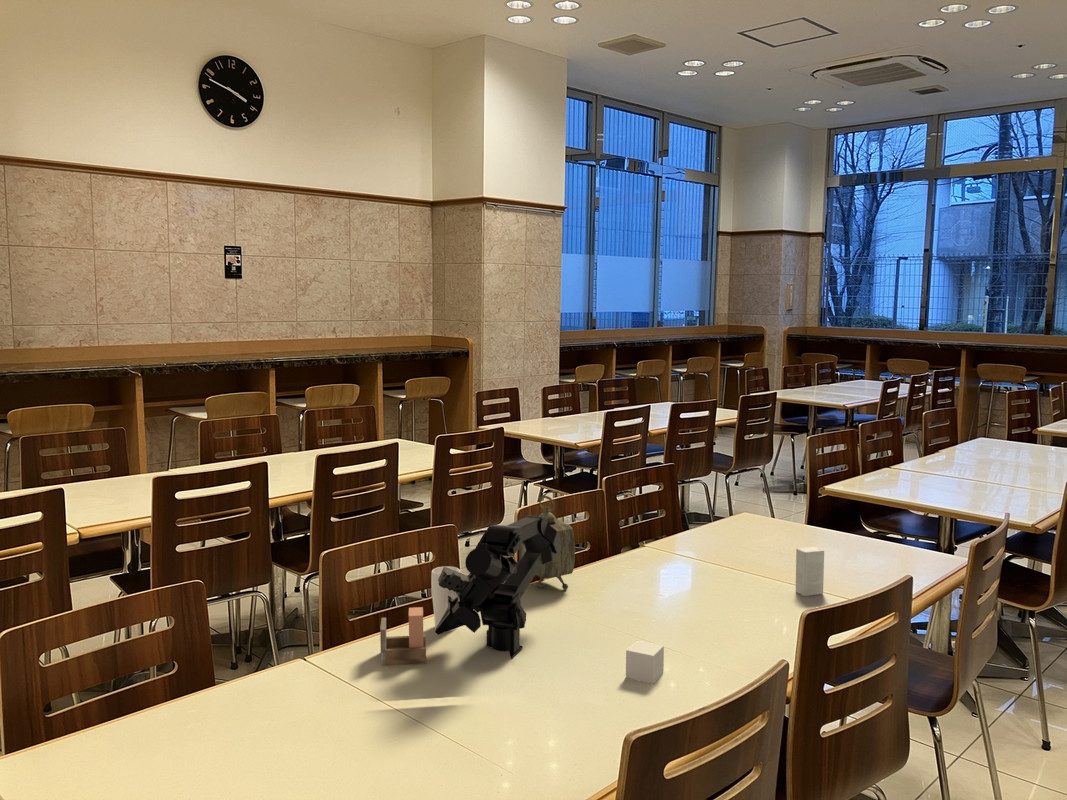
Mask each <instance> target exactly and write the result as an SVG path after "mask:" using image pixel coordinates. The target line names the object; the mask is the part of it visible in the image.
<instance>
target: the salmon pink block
mask: <svg viewBox="0 0 1067 800" xmlns="http://www.w3.org/2000/svg"><path fill="white" fill-rule="evenodd" d="M423 635H424V607H423V606H422V607H421V606H420V607H419V606H418V607H417V606H415V607H408V636H409V648H417V647H423Z"/></svg>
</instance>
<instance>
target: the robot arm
mask: <svg viewBox="0 0 1067 800" xmlns="http://www.w3.org/2000/svg"><path fill="white" fill-rule="evenodd" d="M521 543H523V545H524V547H525V553H524V555H523V556H522V557H521V559H520V558H519V560H518V562H517V561H516V560H515V558H513V555H515V554H516V553H518V551H519V549H520V548H521ZM560 550H561V540H560V537H559V535H558V532H557V531H556V530H555V529H554V528H552V527H551V526H550V525H549V524H548V523H547V521H546V519H545V518H543V517H540V516H539V515H529V514H527V515H524V517H523V518H521V519H518V520H517V521H514V522H512V523H510V524H507V525H503V524H490V525H489V526H488V527H487V529H486V530H485V531H484V533H483V534H482V536H481V538H480V540H479V541H478V543H477V545H476V546H475V548H474V549H472V550H471V551H470V552H468V554H467V556H466V558H465V563H464V564H465V567H466V570H467V572H469V574H468V575H466V574H464V573H462V572H461V571H460V572H457V571H455V570H452V569H450V568H447V567H444V566H443V567H444V568H443V570H442V572H441V574H440V576H439V579H438V581H439V586H440V587H442V588H447V589H448V590H449V591H451V590H452V591H454V592H455V594H454V595H453V596H452V597H450V596H448V608H447V610H446V611H445V613H444V615H443V617H442V619H441V620H440V622H439V624H438V625H437V627H436V629H435V628H434V633H435V634H436V635H438V636H439V635H441V634H444V633H448V632H447V631H450V630H452V629H455V628H457V629H458V628H461V627H464V626H465V627H467V628H468V629H469V630H470V631H471V632H472V633H474V634H475V633H476V632H477V631H478V630H479V629H480V628H481V625H482V626H488V629H487V630H486V646H487V647H488V648H490V649H493V651H494V650H495V651H497V652H509V657H510V659H513V658H514V657H515V656H516V655H517V654H519V652H520V651H522V649H523V647H524V646H523V645H521V643H520V641H521V640H520V639H521V638H520V637H521V635H520V633H521V632H520V631H521V629H525V626H526V621H527V612H526V611H525V609H524V608H523V606H522V604H521V598H522V597H523V595H524V593H525V592H526V590H527V589H528V587H529V585H530V584H531V582H533V579H534V578H535V576H536V573H537V572H538V570H539V568H540V567H541V565H543V564H546V563H548V562H551V561H552V560H553V559H554V558H555V557H556V556H557V554H558V553H559V552H560ZM481 623H482V624H481ZM450 632H451V631H450Z"/></svg>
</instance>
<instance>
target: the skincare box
mask: <svg viewBox="0 0 1067 800" xmlns="http://www.w3.org/2000/svg"><path fill="white" fill-rule="evenodd" d="M795 553H796V555H795V556H796V557H795V593H797V594H799V595H801V596H803V597H810V596H816V595H823V594H824V574H825V573H824V572H825V571H824V570H825V550H824V549H821V548H820V547H817V546H809V547H800V548H799V547H798V548H796V551H795Z"/></svg>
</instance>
